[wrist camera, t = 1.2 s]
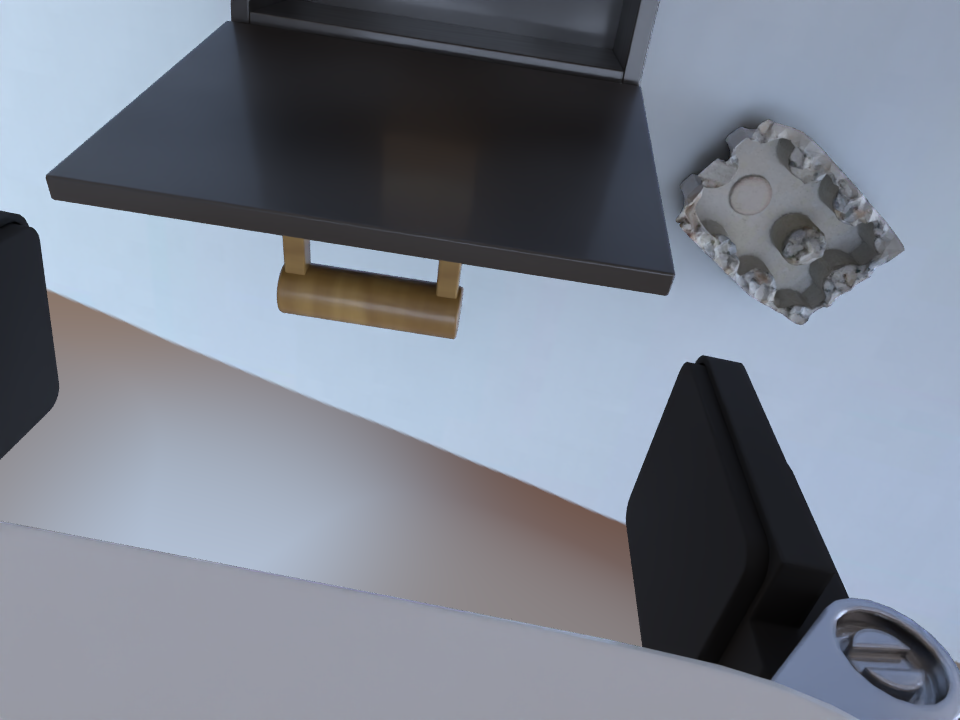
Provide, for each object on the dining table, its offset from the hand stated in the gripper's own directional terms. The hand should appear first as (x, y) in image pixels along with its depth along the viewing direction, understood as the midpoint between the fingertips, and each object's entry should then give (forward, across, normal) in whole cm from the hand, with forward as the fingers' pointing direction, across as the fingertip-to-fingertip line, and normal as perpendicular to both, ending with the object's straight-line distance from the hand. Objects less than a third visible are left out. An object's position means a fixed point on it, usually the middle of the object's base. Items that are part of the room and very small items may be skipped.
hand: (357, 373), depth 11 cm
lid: (+17, +2, +1) cm, 18 cm away
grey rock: (+32, -17, +5) cm, 37 cm away
